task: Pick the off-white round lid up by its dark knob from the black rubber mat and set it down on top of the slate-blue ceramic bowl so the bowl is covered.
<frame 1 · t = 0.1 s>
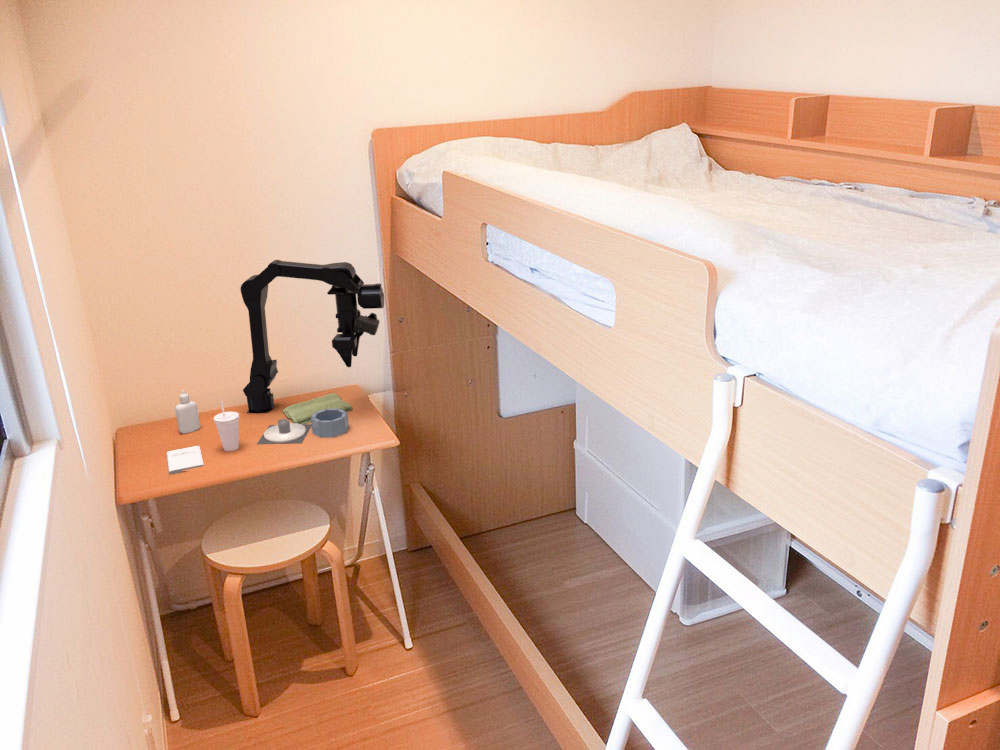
hand: (352, 361, 228), 15 cm above the table, tool pointing down, fingers open, 9 cm apart
external hard drive: (185, 463, 204), on the table
smoothie: (232, 450, 209), on the table
eye dropper bottle: (190, 430, 222), on the table
mat: (285, 435, 217), on the table
washcloth: (318, 415, 231), on the table
lid: (285, 434, 216), point 1 cm above the table, touching mat
bowl: (330, 432, 218), on the table
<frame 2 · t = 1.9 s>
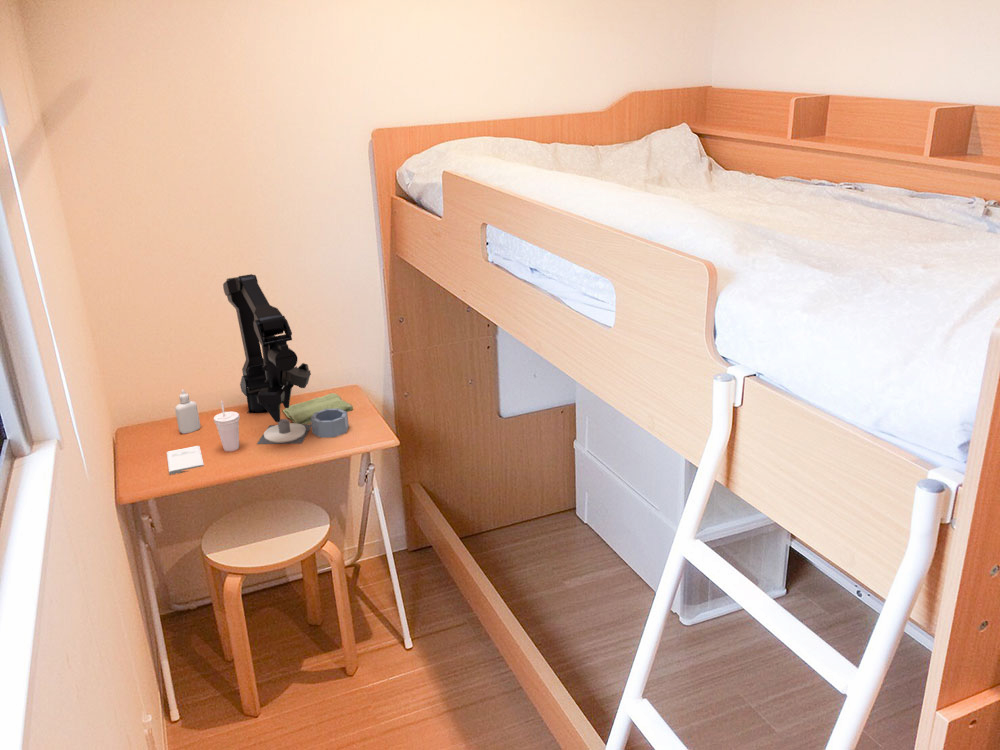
hand: (282, 414, 214), 6 cm above the table, tool pointing down, fingers open, 9 cm apart
nothing on the table moved.
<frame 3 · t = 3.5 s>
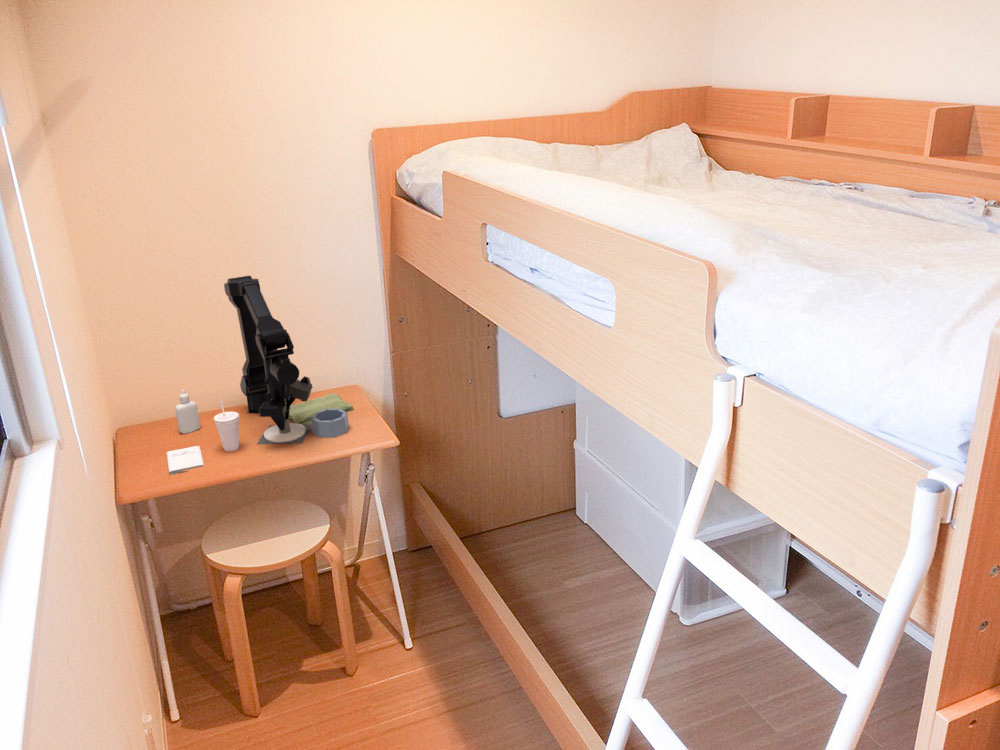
hand: (284, 427, 216), 3 cm above the table, tool pointing down, fingers closed on lid, 3 cm apart
lid: (285, 433, 216), point 1 cm above the table, touching gripper, mat
everything else where it was.
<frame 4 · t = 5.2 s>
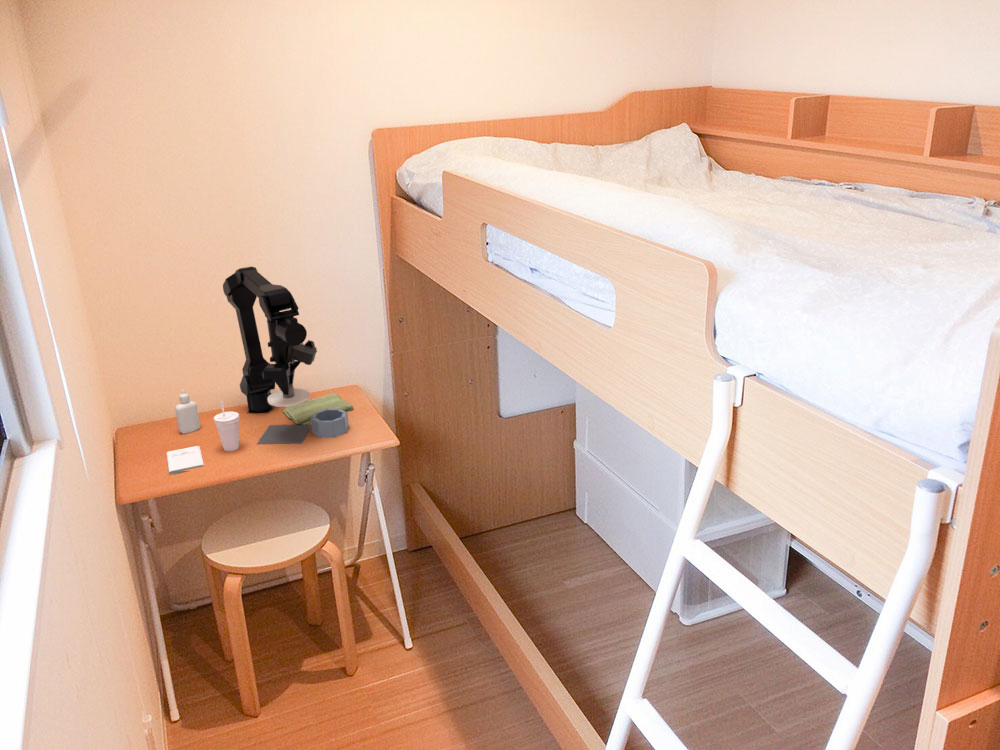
hand: (288, 392, 212), 13 cm above the table, tool pointing down, fingers closed on lid, 3 cm apart
lid: (289, 398, 213), point 11 cm above the table, touching gripper
everything else where it was.
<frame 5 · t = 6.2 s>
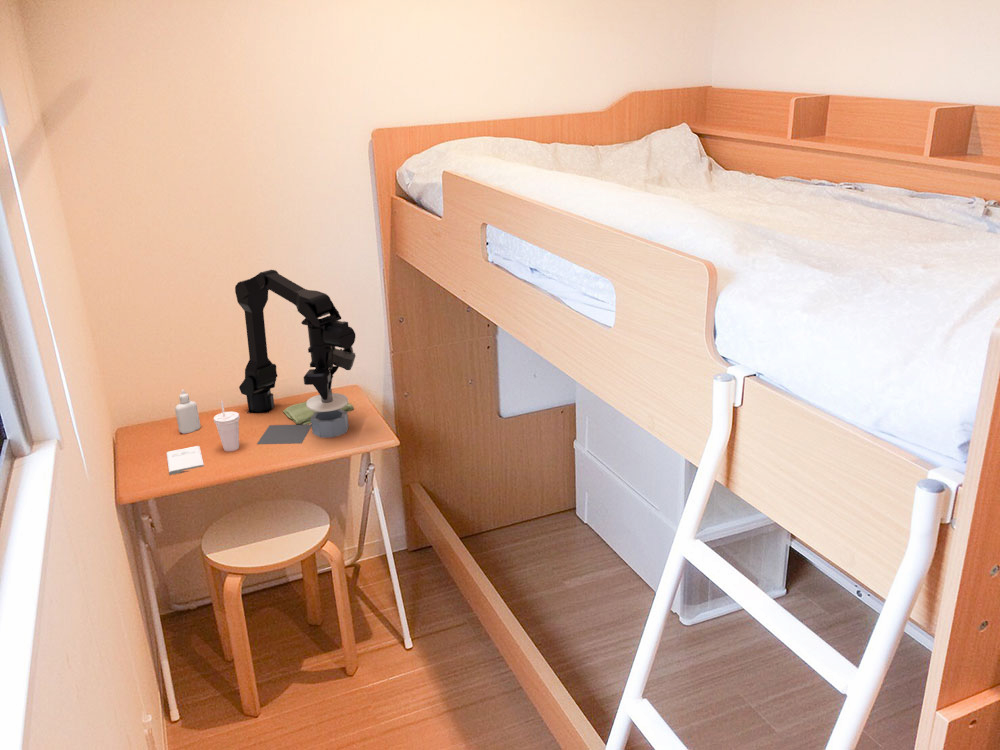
hand: (326, 397, 215), 10 cm above the table, tool pointing down, fingers closed on lid, 3 cm apart
lid: (327, 403, 215), point 8 cm above the table, touching gripper
everything else where it was.
when the fingers open (8 cm above the table, at t = 7.1 s): lid drops 2 cm, resting on bowl.
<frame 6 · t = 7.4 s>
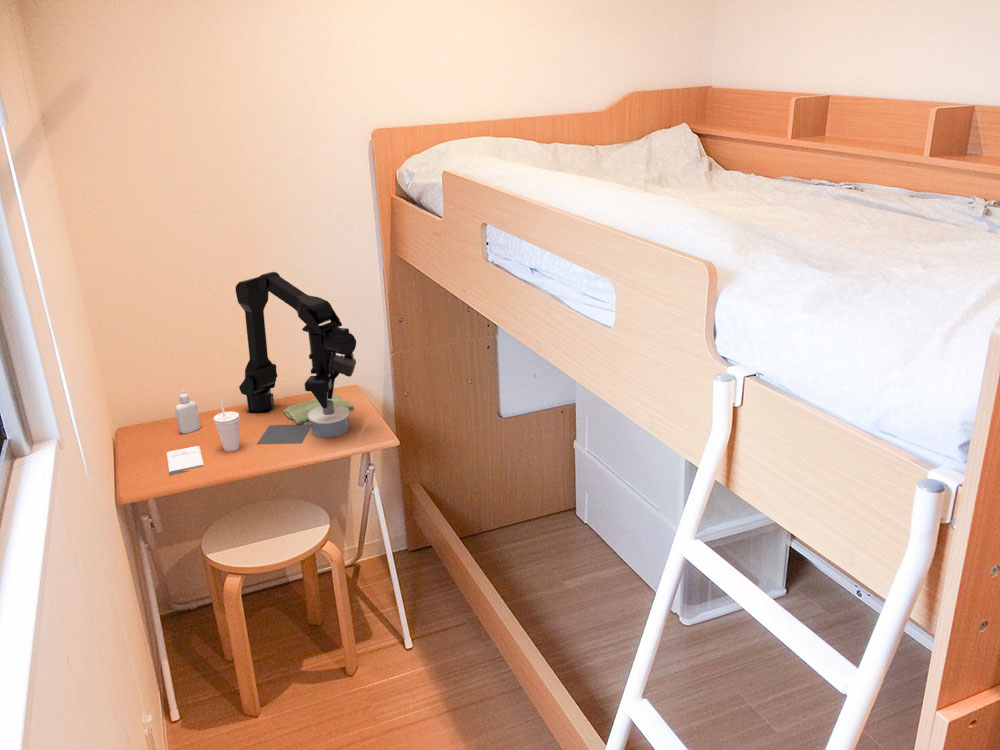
hand: (327, 403, 215), 8 cm above the table, tool pointing down, fingers open, 6 cm apart
lid: (328, 415, 216), point 5 cm above the table, touching bowl
everything else where it was.
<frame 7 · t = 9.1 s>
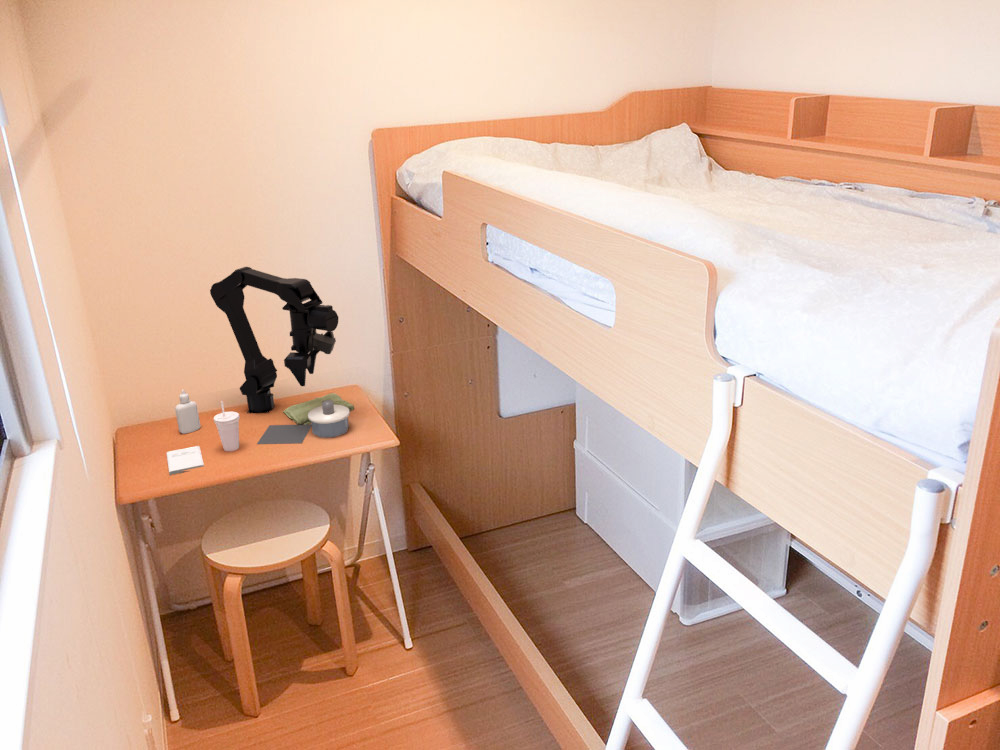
hand: (307, 379, 222), 12 cm above the table, tool pointing down, fingers open, 9 cm apart
nothing on the table moved.
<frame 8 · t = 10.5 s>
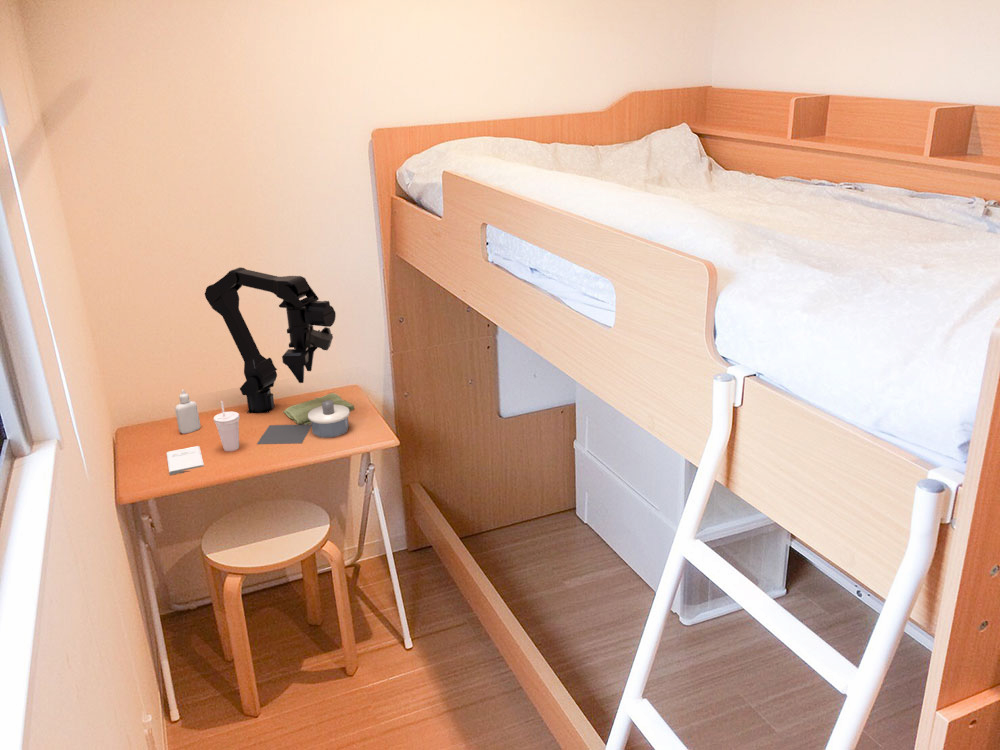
hand: (305, 376, 223), 13 cm above the table, tool pointing down, fingers open, 9 cm apart
nothing on the table moved.
at the end: lid 0.0 cm off-centre on the bowl, point 5.0 cm above the bowl's base; lid tilted 0°; the gripper is holding nothing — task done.
